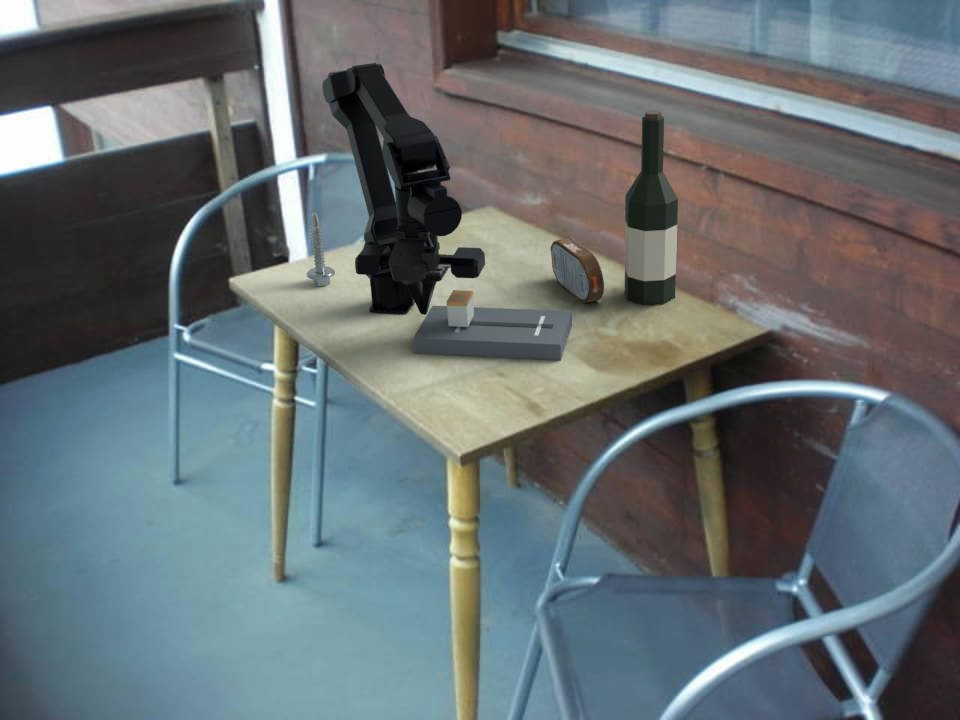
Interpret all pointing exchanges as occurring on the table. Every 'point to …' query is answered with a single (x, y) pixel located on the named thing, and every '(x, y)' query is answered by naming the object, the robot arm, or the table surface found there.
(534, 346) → the fader board
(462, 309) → the fader
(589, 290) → the tin
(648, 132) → the wine bottle
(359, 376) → the table surface
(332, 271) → the screw
